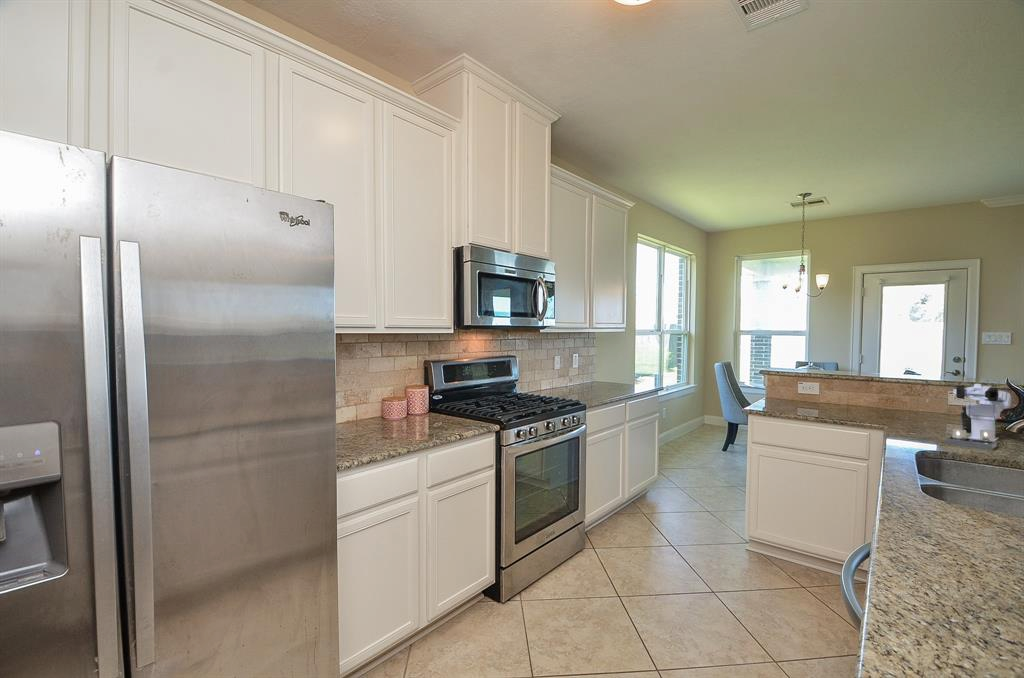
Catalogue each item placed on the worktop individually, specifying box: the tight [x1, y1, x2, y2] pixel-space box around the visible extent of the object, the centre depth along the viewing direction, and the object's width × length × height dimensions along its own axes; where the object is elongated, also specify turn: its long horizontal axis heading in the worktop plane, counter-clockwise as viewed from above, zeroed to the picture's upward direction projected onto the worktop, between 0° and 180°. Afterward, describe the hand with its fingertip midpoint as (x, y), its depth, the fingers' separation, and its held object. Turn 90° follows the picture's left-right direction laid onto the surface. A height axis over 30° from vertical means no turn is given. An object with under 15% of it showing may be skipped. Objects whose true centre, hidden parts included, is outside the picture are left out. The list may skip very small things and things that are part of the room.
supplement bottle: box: [959, 405, 971, 433], centre depth 213 cm, size 7×7×12 cm
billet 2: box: [980, 430, 995, 442], centre depth 186 cm, size 4×4×6 cm
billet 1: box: [952, 428, 967, 441], centre depth 185 cm, size 4×4×6 cm
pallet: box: [945, 435, 997, 451], centre depth 183 cm, size 9×13×2 cm
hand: (973, 393), depth 186 cm, fingers open, 7 cm apart
